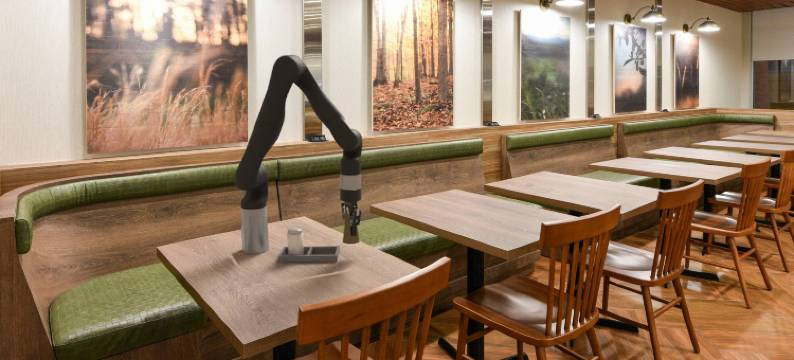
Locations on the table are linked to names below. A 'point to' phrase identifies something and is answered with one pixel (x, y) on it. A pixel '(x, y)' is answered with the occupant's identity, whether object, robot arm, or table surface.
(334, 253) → the caddy
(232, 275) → the table surface
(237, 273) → the table surface
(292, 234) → the salt shaker
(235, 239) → the table surface
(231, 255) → the table surface
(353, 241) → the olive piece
